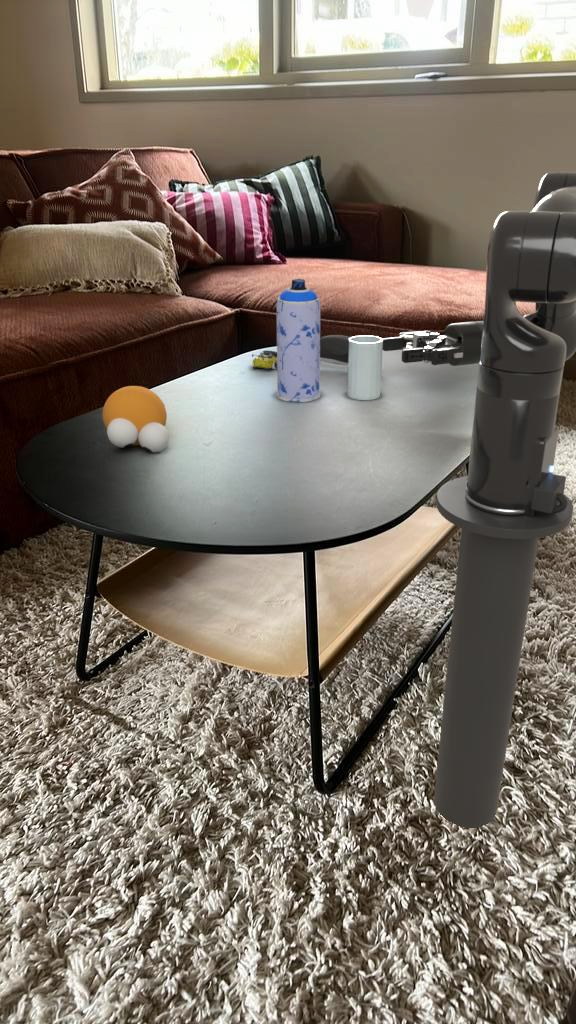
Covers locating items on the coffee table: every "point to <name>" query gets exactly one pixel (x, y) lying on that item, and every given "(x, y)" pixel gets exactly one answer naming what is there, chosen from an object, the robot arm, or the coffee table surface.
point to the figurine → (334, 349)
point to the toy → (136, 419)
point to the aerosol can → (298, 344)
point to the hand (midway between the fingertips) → (392, 350)
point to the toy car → (265, 360)
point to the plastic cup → (364, 367)
